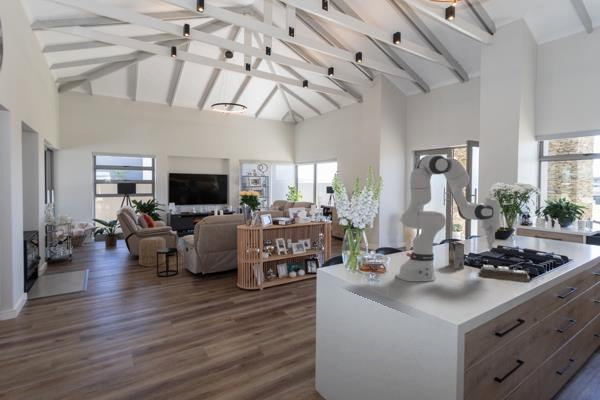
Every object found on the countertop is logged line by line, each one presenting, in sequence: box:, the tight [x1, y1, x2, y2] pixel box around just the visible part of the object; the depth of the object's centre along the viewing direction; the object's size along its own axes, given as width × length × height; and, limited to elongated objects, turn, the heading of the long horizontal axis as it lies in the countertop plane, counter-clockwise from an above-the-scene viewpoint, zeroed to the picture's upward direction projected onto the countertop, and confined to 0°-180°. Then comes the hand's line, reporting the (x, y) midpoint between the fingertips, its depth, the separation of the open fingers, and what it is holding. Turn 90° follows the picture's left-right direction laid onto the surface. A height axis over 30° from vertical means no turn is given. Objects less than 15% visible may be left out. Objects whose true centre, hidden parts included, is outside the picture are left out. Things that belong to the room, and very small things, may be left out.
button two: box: [512, 269, 525, 273], centre depth 174 cm, size 5×5×2 cm
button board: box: [479, 266, 531, 283], centre depth 178 cm, size 10×24×4 cm, turn 59°
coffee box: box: [448, 241, 465, 269], centre depth 202 cm, size 9×6×16 cm
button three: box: [482, 264, 495, 270], centre depth 182 cm, size 5×5×2 cm
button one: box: [497, 265, 509, 272], centre depth 178 cm, size 5×5×2 cm
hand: (490, 248), depth 180 cm, fingers closed
